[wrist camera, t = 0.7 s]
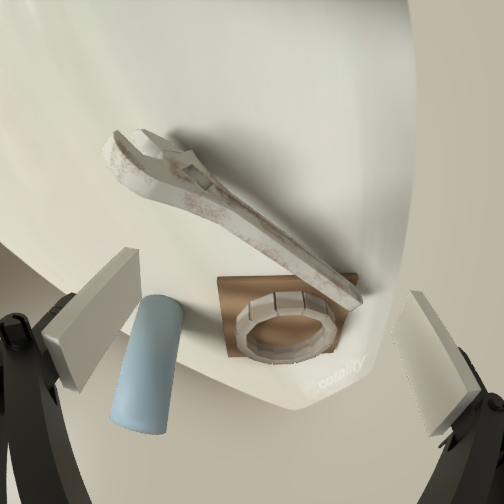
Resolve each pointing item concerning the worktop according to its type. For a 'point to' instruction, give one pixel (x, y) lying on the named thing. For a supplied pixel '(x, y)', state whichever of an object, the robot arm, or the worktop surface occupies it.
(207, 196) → the wrench
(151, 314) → the post
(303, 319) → the collar board
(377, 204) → the worktop surface
